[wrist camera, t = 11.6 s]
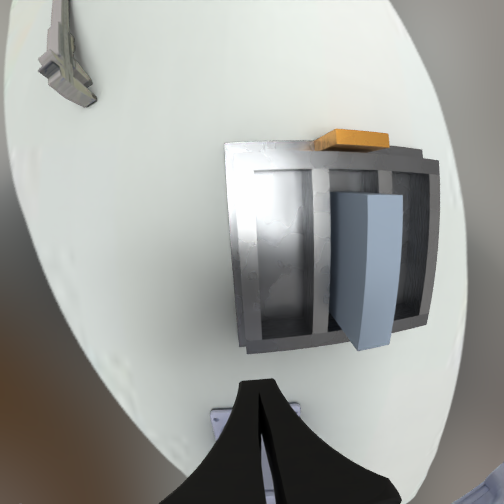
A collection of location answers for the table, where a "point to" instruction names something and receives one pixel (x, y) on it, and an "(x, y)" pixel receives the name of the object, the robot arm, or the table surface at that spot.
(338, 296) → the panel
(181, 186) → the table surface
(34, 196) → the table surface
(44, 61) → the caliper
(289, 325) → the panel rack
